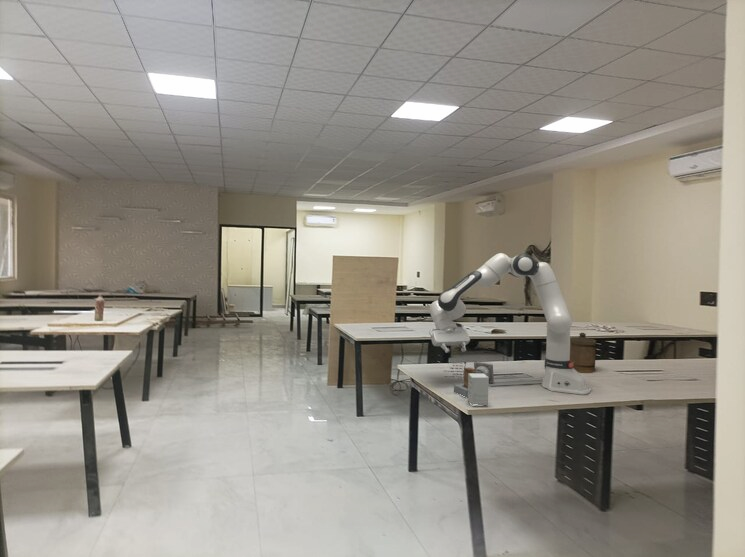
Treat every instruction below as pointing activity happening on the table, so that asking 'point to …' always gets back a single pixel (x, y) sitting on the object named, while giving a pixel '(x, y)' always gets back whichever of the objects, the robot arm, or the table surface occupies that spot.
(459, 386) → the slate socket
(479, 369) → the voltmeter
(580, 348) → the wooden container
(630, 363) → the table surface
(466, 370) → the walnut peg
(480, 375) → the supplement box
